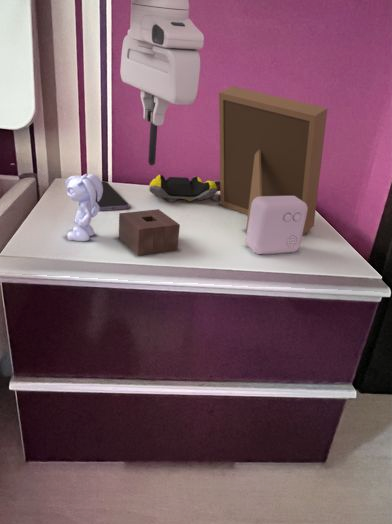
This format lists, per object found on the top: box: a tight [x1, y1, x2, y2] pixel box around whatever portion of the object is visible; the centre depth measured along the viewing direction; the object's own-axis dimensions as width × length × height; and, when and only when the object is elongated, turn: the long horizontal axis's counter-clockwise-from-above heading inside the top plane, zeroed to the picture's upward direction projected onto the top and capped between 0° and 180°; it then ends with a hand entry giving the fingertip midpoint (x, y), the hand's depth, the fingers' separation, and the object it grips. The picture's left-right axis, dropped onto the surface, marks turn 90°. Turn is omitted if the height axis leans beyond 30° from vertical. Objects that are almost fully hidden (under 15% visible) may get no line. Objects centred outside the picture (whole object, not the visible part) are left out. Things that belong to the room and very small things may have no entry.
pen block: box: [118, 208, 181, 257], centre depth 103 cm, size 8×8×5 cm
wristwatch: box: [210, 180, 220, 202], centre depth 132 cm, size 4×6×5 cm
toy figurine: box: [64, 173, 103, 242], centre depth 101 cm, size 7×6×12 cm
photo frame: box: [218, 85, 328, 236], centre depth 114 cm, size 15×22×25 cm
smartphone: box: [95, 180, 129, 211], centre depth 123 cm, size 7×1×15 cm
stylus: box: [147, 95, 158, 166], centre depth 94 cm, size 1×1×14 cm
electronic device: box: [245, 196, 308, 255], centre depth 106 cm, size 10×5×10 cm, turn 111°
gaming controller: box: [148, 174, 218, 202], centre depth 127 cm, size 15×6×10 cm
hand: (153, 122), depth 94 cm, fingers closed on stylus, 1 cm apart
